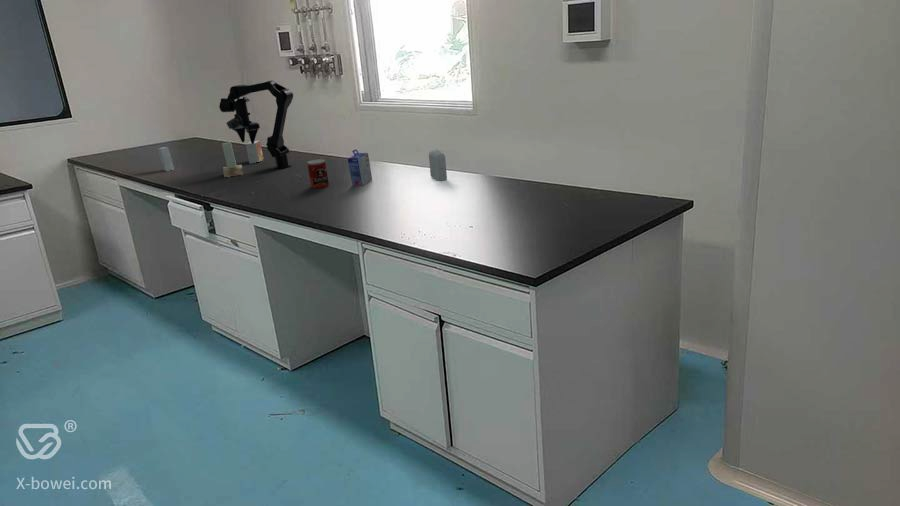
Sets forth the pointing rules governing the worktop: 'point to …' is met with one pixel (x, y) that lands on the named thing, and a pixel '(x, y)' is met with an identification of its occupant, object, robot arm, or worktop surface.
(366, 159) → the ink cartridge box
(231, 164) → the sage post
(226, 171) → the oak block
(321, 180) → the canned food
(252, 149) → the small box
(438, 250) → the worktop surface
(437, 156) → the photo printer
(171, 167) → the skincare box
